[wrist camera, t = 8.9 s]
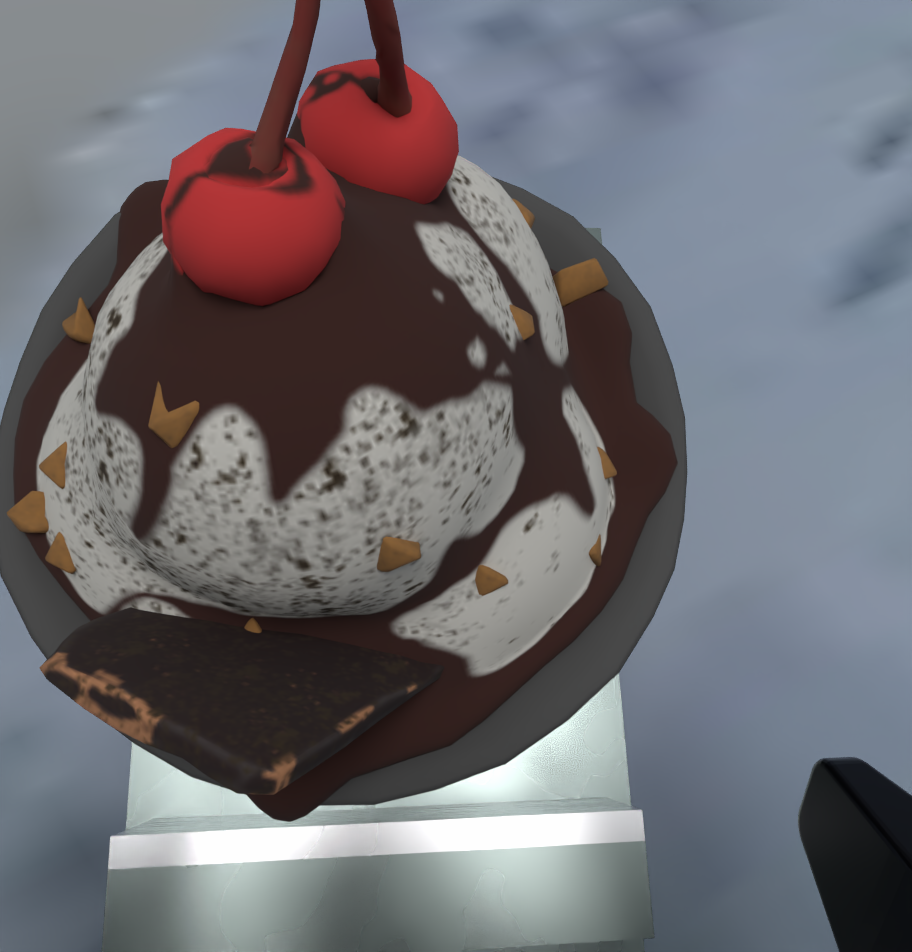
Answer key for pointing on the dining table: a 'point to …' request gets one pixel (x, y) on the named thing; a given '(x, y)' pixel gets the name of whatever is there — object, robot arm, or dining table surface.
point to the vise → (394, 859)
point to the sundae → (340, 454)
